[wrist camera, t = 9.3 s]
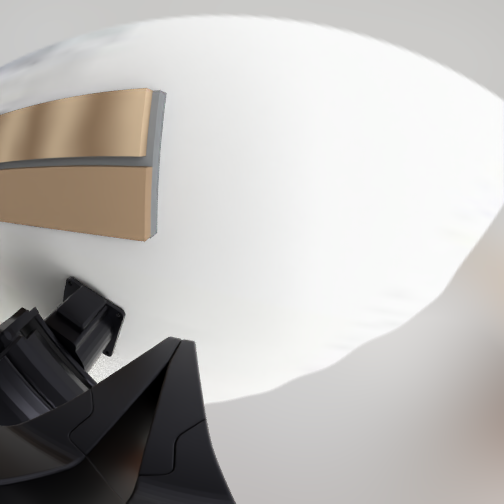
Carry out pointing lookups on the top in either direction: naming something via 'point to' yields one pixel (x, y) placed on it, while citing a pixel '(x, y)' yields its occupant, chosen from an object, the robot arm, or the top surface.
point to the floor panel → (88, 189)
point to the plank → (78, 127)
